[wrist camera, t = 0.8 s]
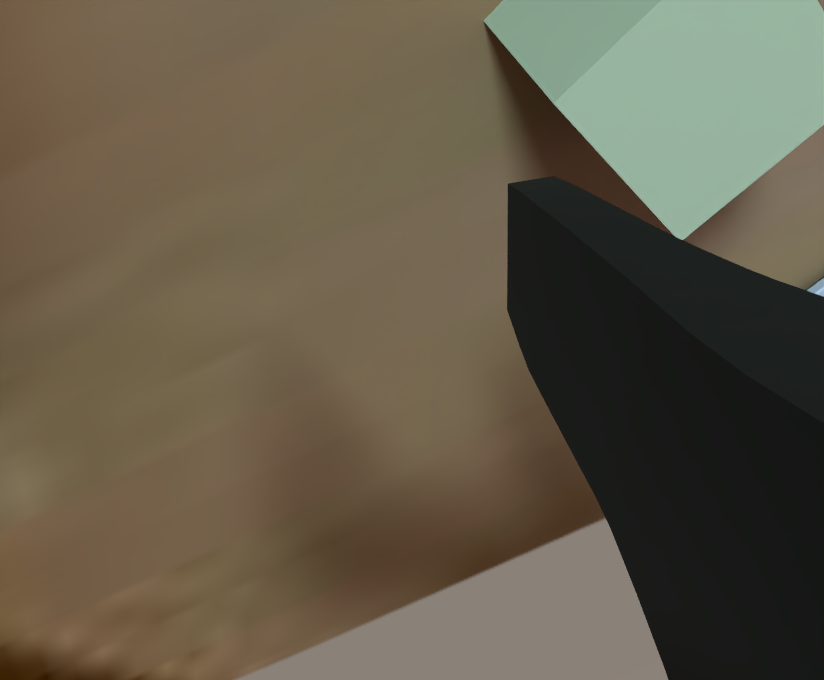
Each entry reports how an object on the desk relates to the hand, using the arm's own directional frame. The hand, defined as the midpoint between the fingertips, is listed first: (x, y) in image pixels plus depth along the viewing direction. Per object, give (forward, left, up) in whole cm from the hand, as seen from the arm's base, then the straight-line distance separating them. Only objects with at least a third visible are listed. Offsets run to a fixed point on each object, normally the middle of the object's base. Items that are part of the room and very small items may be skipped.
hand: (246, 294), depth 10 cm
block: (-6, -7, -11) cm, 14 cm away
